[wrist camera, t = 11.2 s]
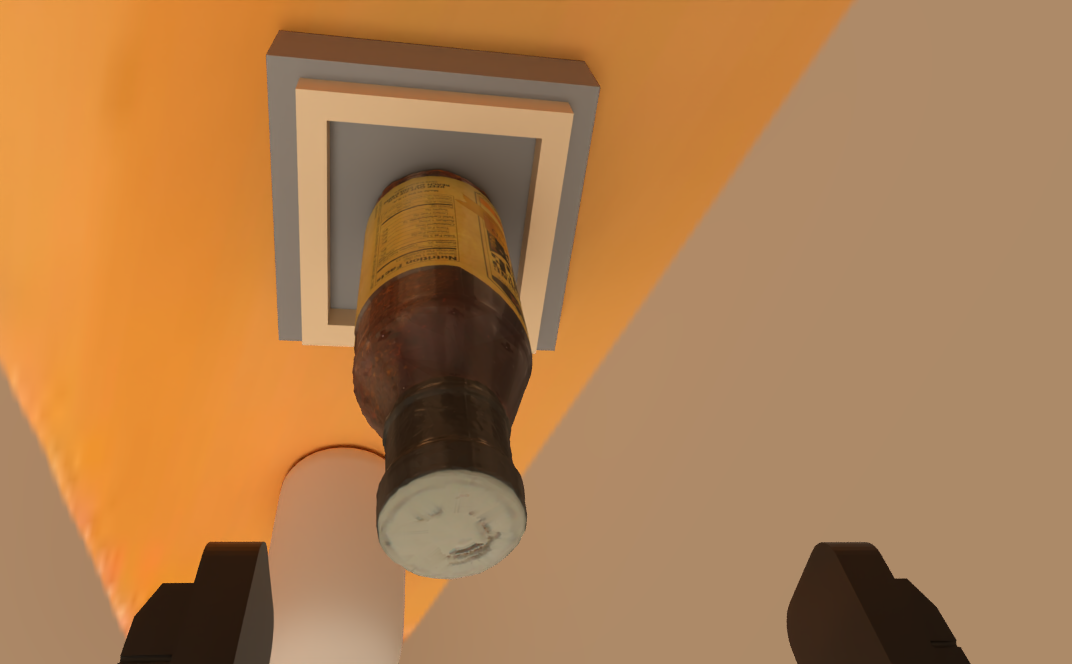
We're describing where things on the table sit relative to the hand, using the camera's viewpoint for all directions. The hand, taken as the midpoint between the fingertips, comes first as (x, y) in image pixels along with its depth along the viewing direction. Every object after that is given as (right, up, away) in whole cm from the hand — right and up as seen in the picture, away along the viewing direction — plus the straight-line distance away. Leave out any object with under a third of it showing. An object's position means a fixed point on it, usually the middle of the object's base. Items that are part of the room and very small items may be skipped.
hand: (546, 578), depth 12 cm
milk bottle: (-12, -6, +40) cm, 43 cm away
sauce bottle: (-5, +9, +27) cm, 28 cm away
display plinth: (-6, +11, +30) cm, 32 cm away
